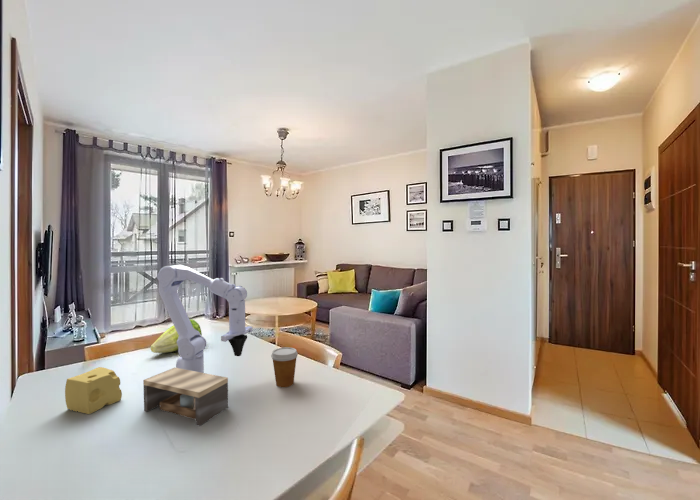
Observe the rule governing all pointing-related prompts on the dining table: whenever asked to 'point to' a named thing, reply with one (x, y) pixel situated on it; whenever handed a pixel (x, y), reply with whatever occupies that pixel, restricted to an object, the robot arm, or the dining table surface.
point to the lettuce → (170, 339)
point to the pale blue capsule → (187, 401)
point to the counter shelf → (188, 391)
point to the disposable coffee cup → (284, 366)
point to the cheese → (92, 390)
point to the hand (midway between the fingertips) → (237, 355)
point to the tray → (177, 407)
